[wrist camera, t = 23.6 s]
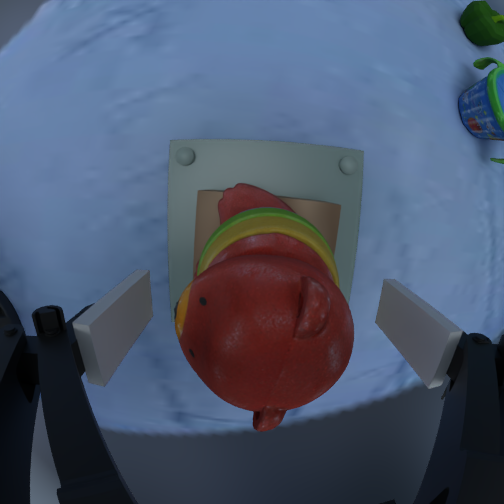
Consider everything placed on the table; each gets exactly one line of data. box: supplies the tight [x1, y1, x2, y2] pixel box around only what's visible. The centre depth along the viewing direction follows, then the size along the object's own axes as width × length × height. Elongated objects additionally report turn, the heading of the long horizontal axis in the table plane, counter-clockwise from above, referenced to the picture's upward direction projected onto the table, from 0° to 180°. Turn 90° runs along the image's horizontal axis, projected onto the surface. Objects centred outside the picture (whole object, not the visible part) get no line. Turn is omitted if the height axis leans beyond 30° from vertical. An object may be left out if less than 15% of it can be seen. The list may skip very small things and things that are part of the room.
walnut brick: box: [193, 190, 341, 280], centre depth 28 cm, size 13×10×6 cm
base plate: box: [168, 139, 364, 322], centre depth 31 cm, size 22×22×2 cm
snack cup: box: [459, 57, 504, 164], centre depth 23 cm, size 16×10×10 cm
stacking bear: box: [174, 183, 354, 432], centre depth 17 cm, size 11×10×18 cm
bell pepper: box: [460, 1, 504, 46], centre depth 19 cm, size 8×8×10 cm
